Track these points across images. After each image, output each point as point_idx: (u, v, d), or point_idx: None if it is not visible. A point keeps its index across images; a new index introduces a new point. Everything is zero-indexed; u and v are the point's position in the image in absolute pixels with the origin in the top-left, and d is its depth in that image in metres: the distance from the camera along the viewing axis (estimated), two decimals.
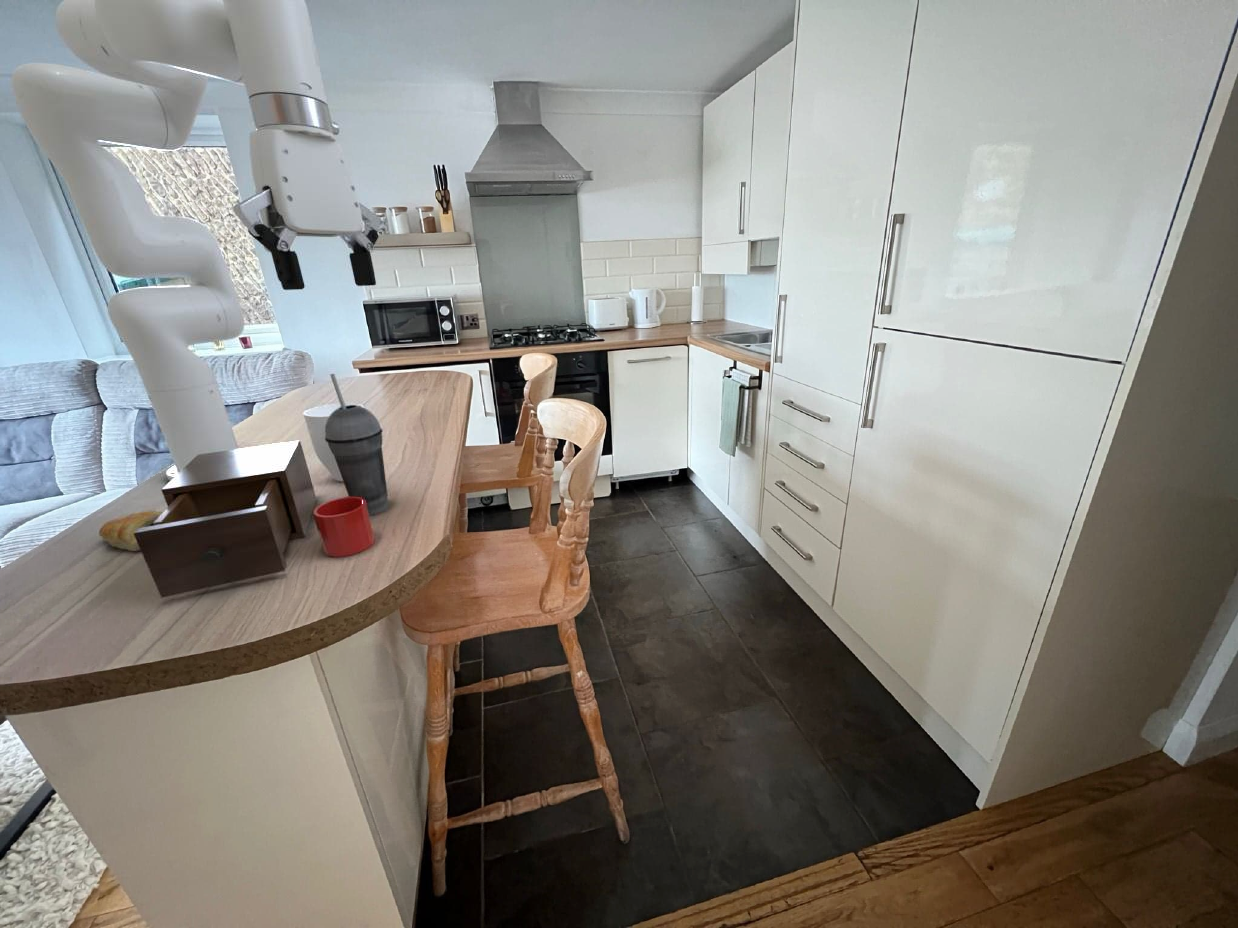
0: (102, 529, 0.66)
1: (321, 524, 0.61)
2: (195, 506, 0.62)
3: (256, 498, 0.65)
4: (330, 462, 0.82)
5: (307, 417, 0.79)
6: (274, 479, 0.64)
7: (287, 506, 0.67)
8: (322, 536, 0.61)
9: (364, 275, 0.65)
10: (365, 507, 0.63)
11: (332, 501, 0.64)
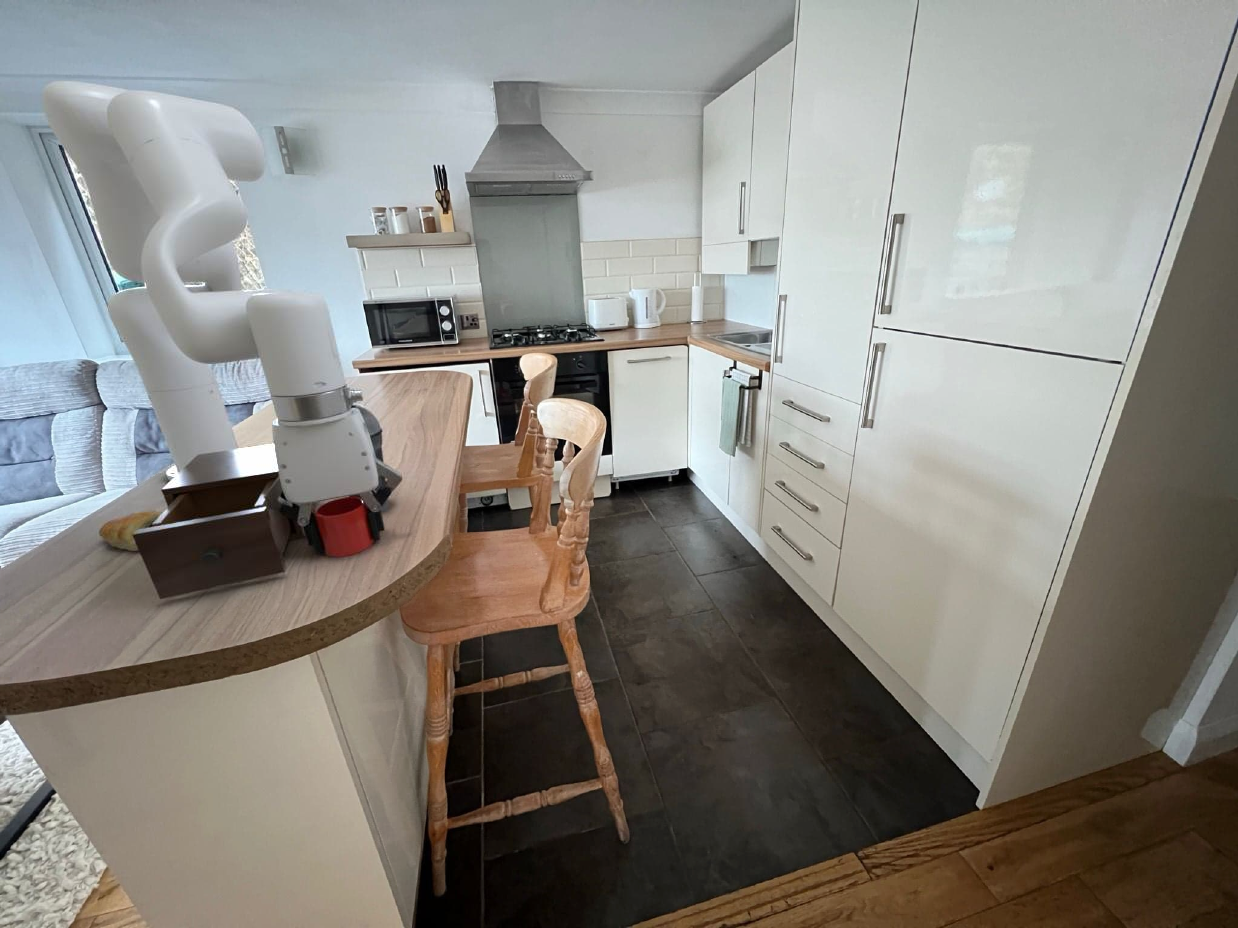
0: (102, 529, 0.66)
1: (321, 524, 0.61)
2: (194, 507, 0.62)
3: (255, 499, 0.64)
4: None
5: None
6: (274, 480, 0.64)
7: None
8: (322, 536, 0.61)
9: None
10: (365, 507, 0.63)
11: (332, 501, 0.64)
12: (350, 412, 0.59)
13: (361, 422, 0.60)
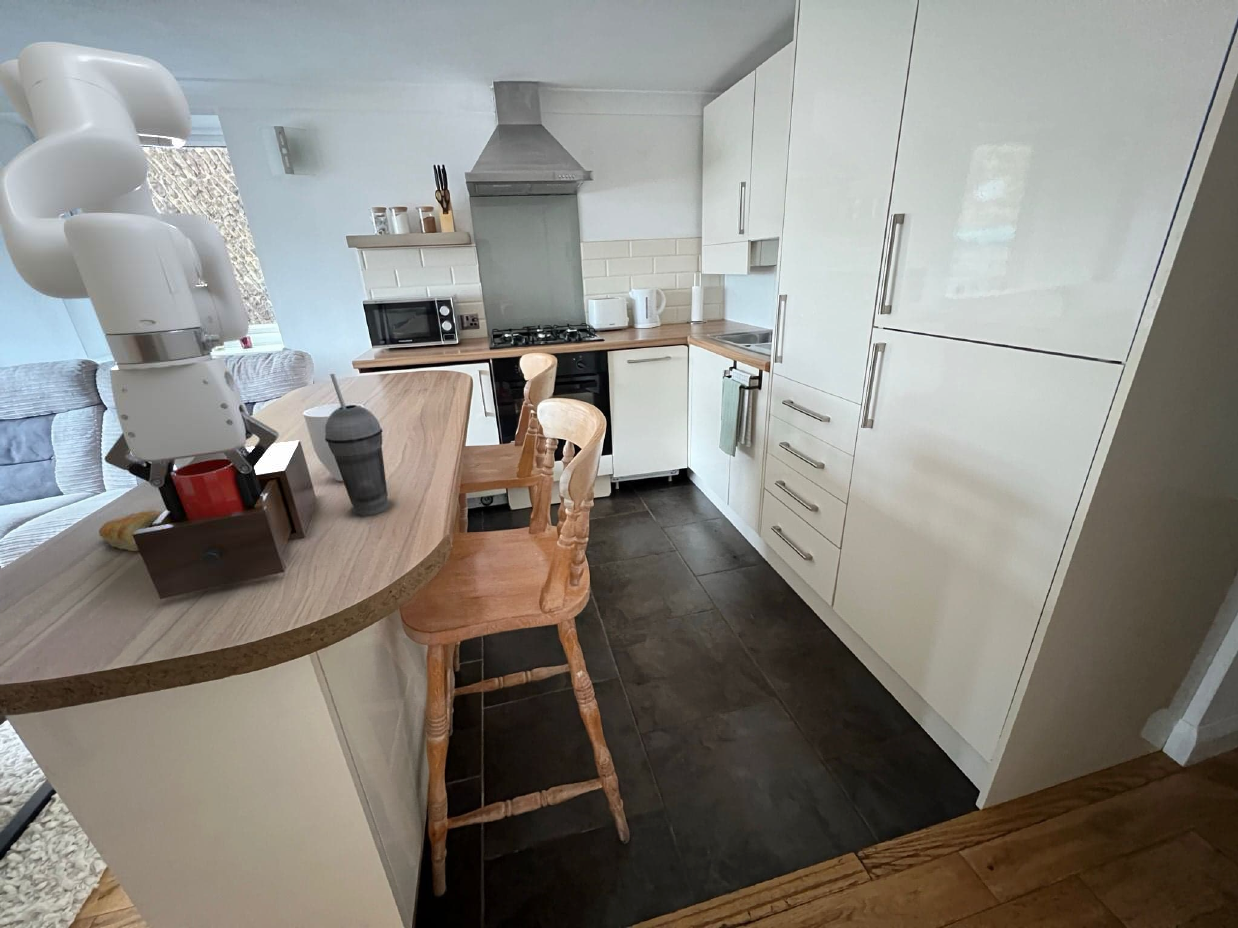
0: (102, 529, 0.66)
1: (178, 485, 0.54)
2: None
3: None
4: (330, 462, 0.82)
5: (307, 417, 0.79)
6: (274, 480, 0.64)
7: (287, 507, 0.67)
8: (181, 499, 0.55)
9: None
10: (234, 468, 0.57)
11: (199, 462, 0.58)
12: (206, 358, 0.52)
13: (221, 370, 0.53)
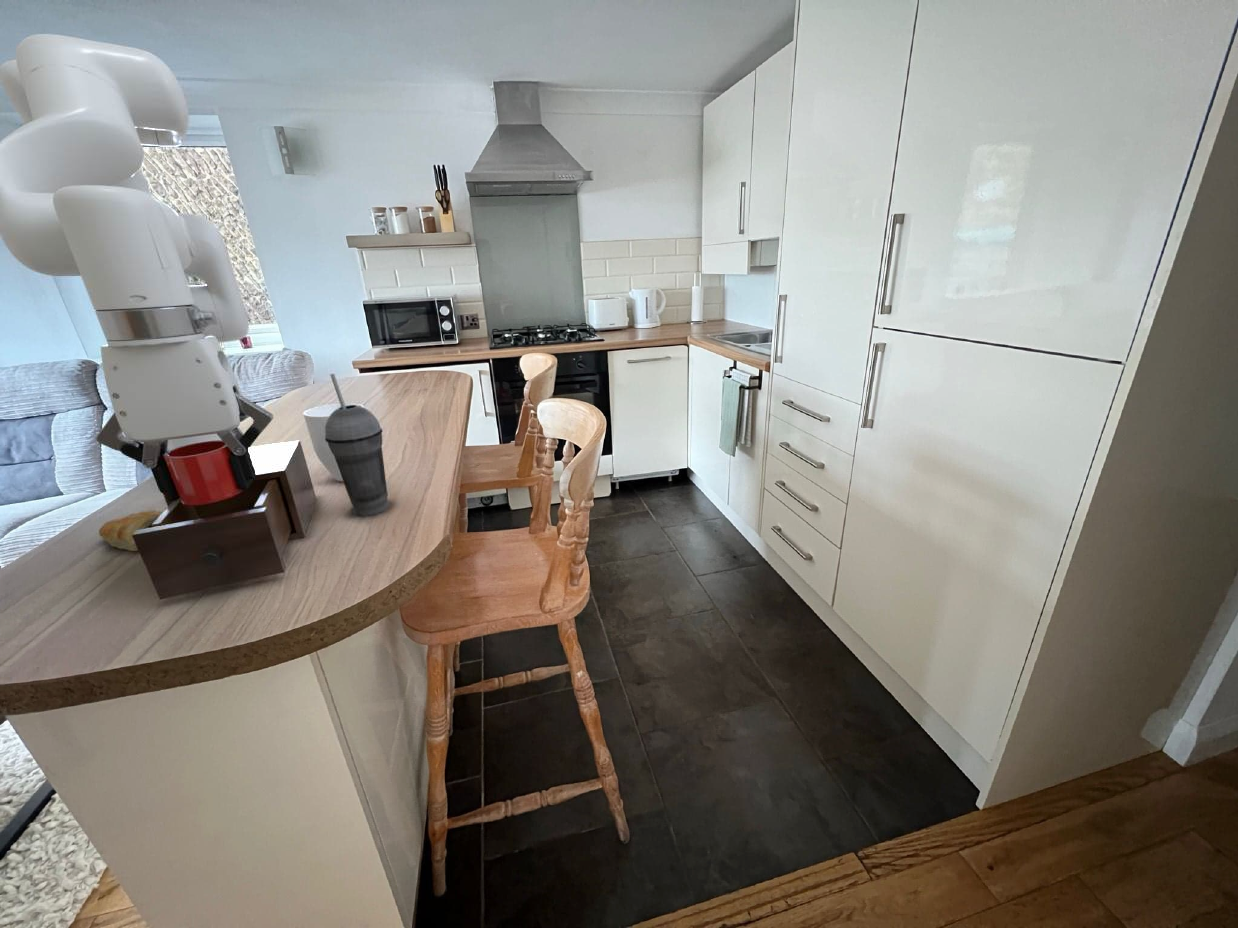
0: (102, 529, 0.66)
1: (170, 467, 0.53)
2: (194, 507, 0.62)
3: (255, 499, 0.64)
4: (330, 462, 0.82)
5: (307, 417, 0.79)
6: (273, 480, 0.64)
7: (287, 507, 0.66)
8: (174, 481, 0.54)
9: None
10: (228, 450, 0.56)
11: (193, 444, 0.57)
12: (199, 336, 0.52)
13: (214, 349, 0.53)
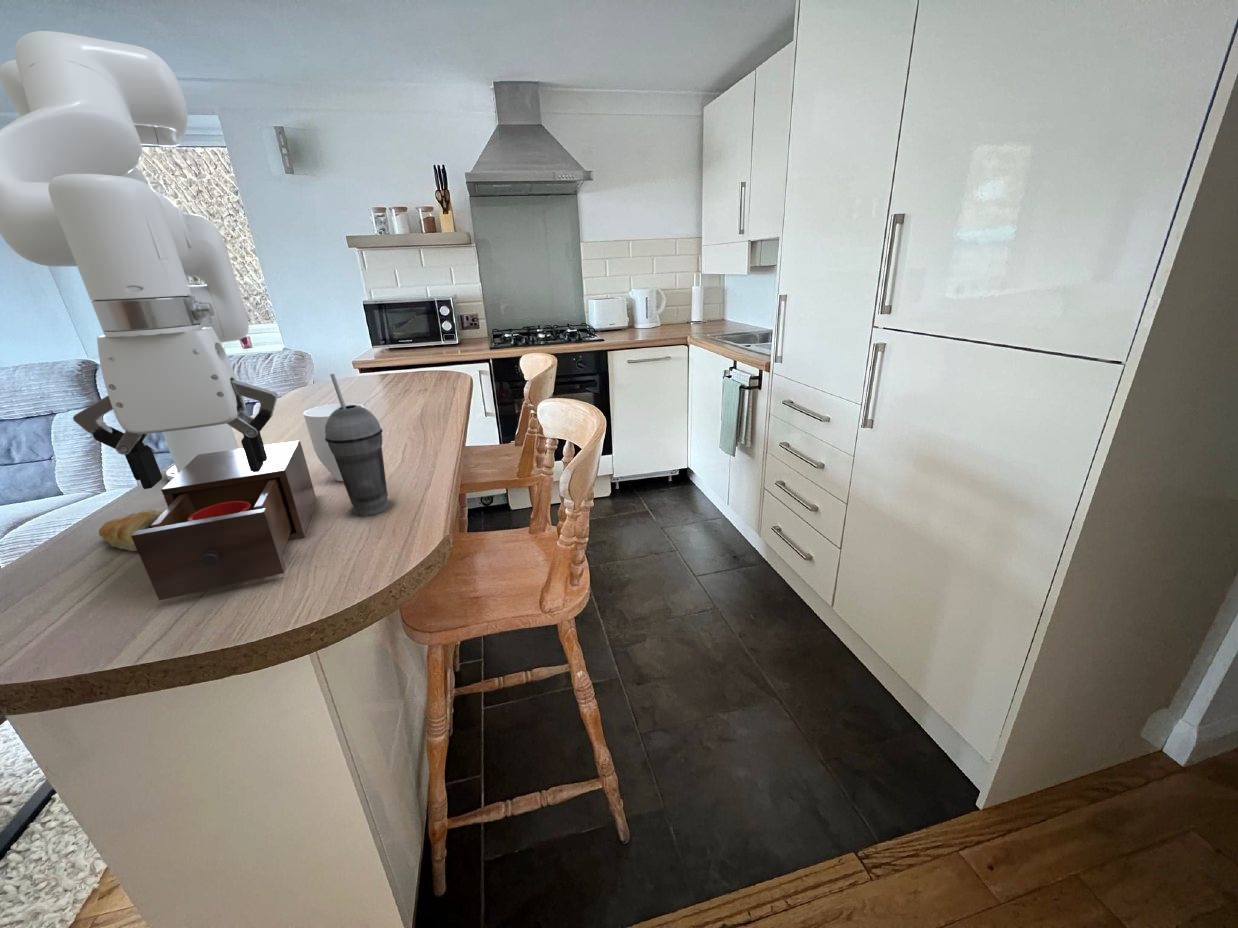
0: (102, 529, 0.66)
1: None
2: (193, 508, 0.62)
3: (255, 499, 0.64)
4: (330, 462, 0.82)
5: (307, 417, 0.79)
6: (273, 481, 0.63)
7: (286, 508, 0.66)
8: None
9: None
10: None
11: (215, 505, 0.60)
12: (196, 328, 0.51)
13: (211, 341, 0.52)
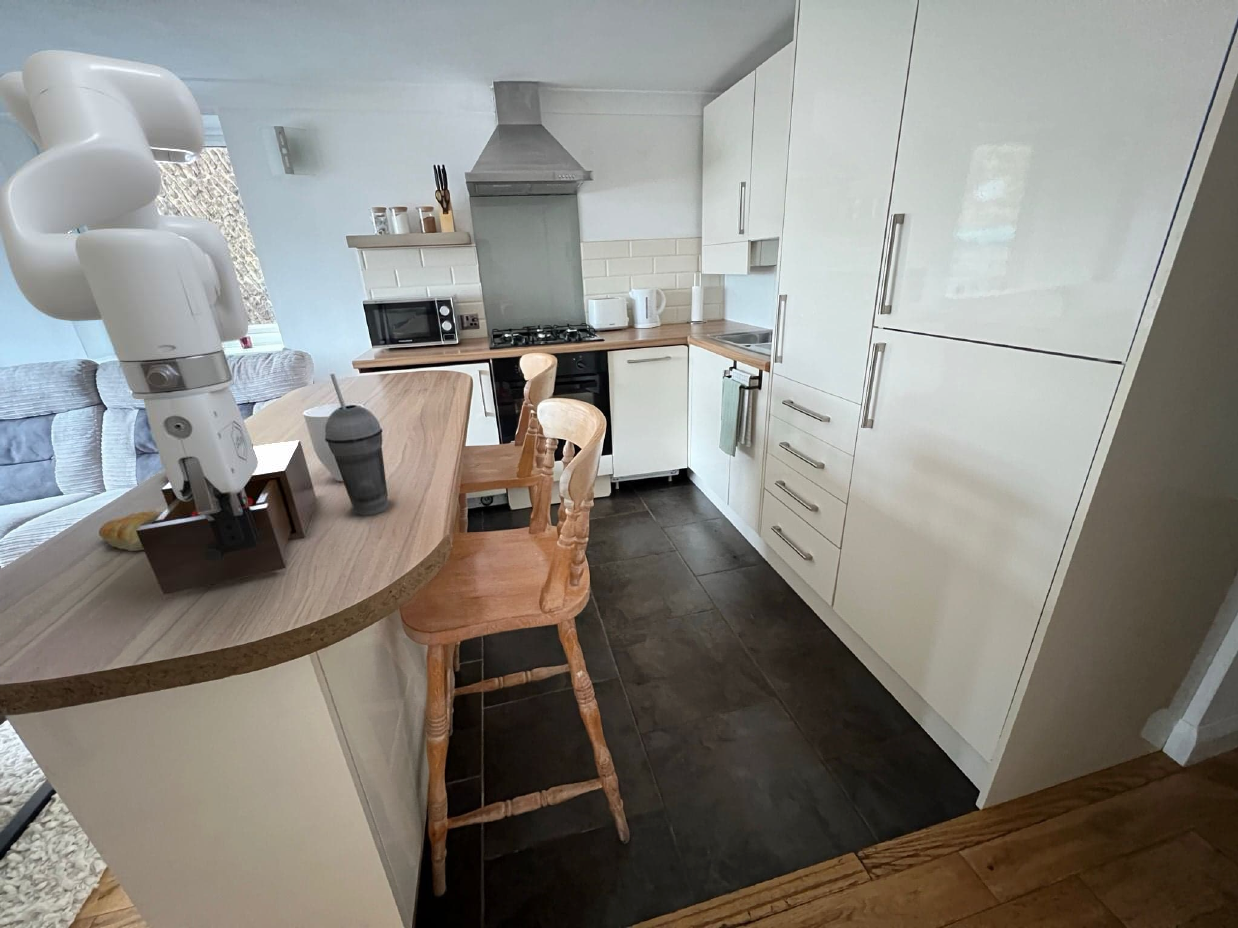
0: (102, 529, 0.66)
1: None
2: None
3: (257, 496, 0.65)
4: (330, 462, 0.82)
5: (307, 417, 0.79)
6: None
7: None
8: None
9: None
10: None
11: None
12: (159, 396, 0.44)
13: (162, 414, 0.44)
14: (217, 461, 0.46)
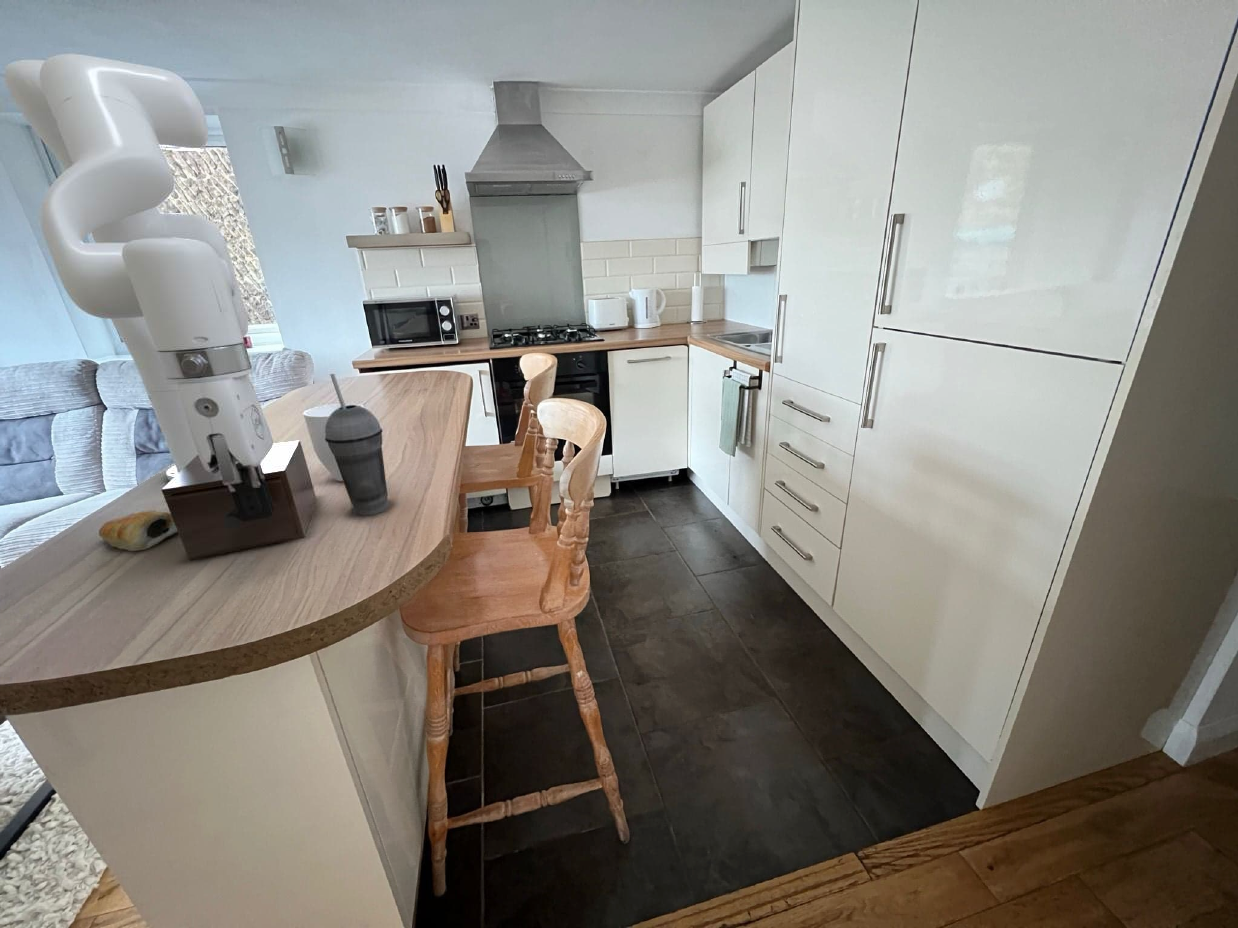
0: (102, 529, 0.66)
1: None
2: None
3: None
4: (330, 462, 0.82)
5: (307, 417, 0.79)
6: None
7: None
8: None
9: None
10: None
11: None
12: (190, 381, 0.52)
13: (193, 396, 0.51)
14: (239, 438, 0.54)
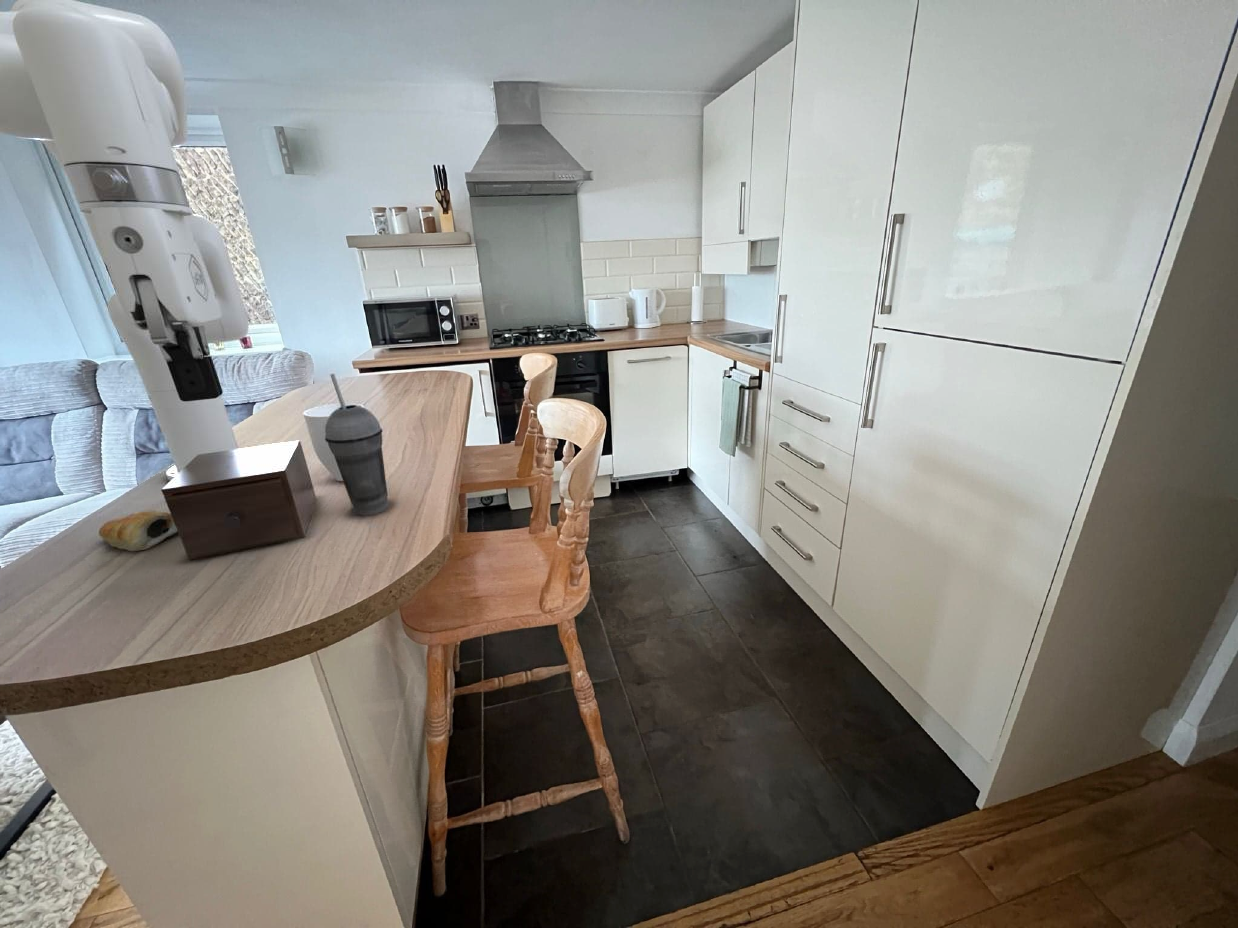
0: (102, 529, 0.66)
1: None
2: None
3: None
4: (330, 462, 0.82)
5: (307, 417, 0.79)
6: None
7: None
8: None
9: None
10: None
11: None
12: (107, 205, 0.42)
13: (110, 223, 0.41)
14: (171, 283, 0.44)
